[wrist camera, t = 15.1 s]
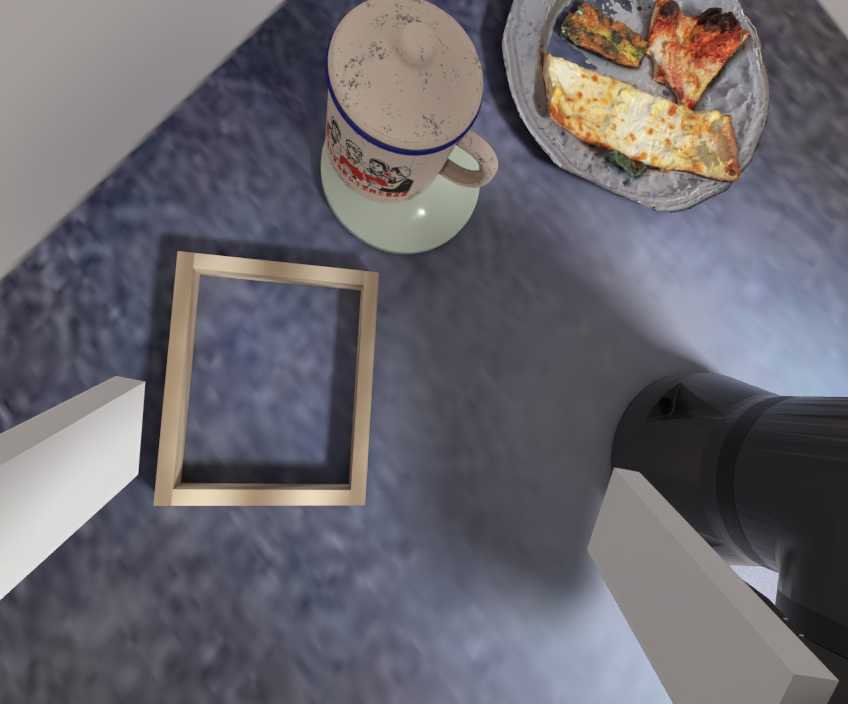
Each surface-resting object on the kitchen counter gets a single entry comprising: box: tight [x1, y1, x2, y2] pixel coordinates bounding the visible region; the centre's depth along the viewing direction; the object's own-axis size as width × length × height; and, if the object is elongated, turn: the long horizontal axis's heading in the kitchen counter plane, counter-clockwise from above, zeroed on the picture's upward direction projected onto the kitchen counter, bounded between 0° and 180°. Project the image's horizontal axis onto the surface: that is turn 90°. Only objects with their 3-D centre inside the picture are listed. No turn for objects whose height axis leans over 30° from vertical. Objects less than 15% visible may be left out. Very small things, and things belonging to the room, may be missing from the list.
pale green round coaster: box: [321, 138, 480, 255], centre depth 36 cm, size 12×12×1 cm
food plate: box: [502, 0, 770, 212], centre depth 41 cm, size 25×23×4 cm
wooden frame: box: [154, 251, 379, 506], centre depth 33 cm, size 13×16×2 cm
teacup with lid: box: [325, 0, 498, 203], centre depth 30 cm, size 12×9×12 cm
